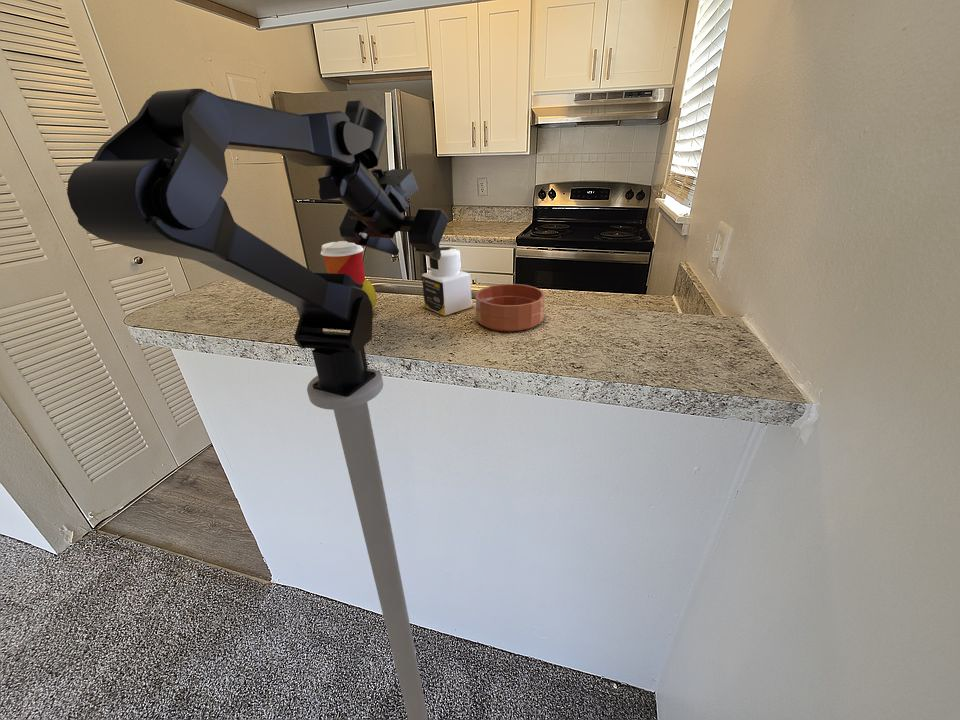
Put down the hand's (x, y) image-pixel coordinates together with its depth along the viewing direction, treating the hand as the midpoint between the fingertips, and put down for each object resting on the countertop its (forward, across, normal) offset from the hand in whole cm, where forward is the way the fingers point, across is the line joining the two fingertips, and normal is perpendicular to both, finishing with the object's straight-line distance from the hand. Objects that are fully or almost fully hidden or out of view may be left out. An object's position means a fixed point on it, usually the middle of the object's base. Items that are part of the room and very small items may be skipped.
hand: (417, 255), depth 71 cm
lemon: (+7, +13, +11) cm, 18 cm away
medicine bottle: (+15, 0, +3) cm, 15 cm away
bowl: (+14, -14, +3) cm, 21 cm away
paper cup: (+1, +14, +7) cm, 16 cm away
